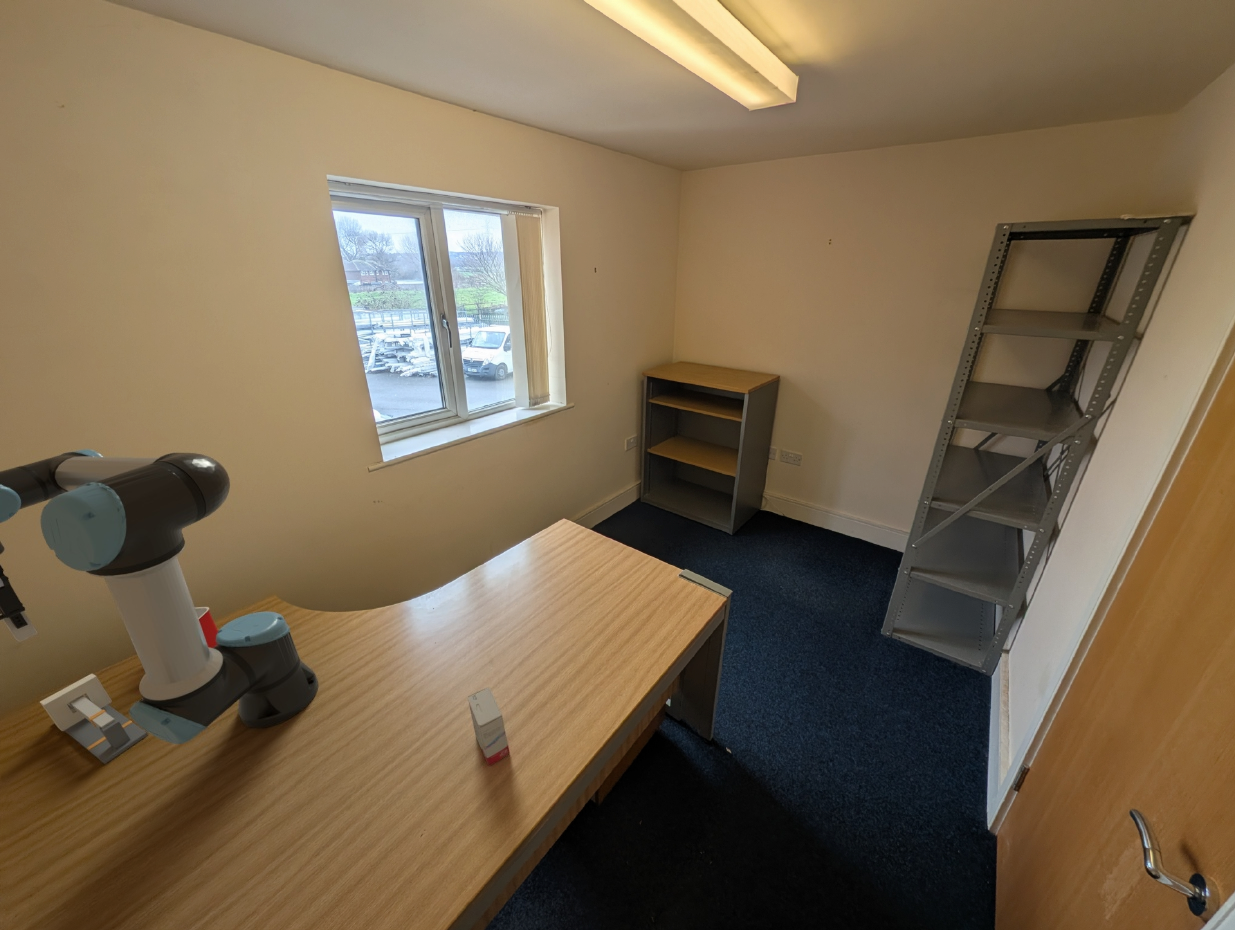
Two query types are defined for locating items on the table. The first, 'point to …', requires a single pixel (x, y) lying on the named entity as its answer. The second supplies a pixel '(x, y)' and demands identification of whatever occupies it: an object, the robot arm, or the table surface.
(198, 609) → the mug
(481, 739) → the ink box
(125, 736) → the grey slide rail
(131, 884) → the table surface
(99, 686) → the thick cream end plate
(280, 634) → the robot arm
